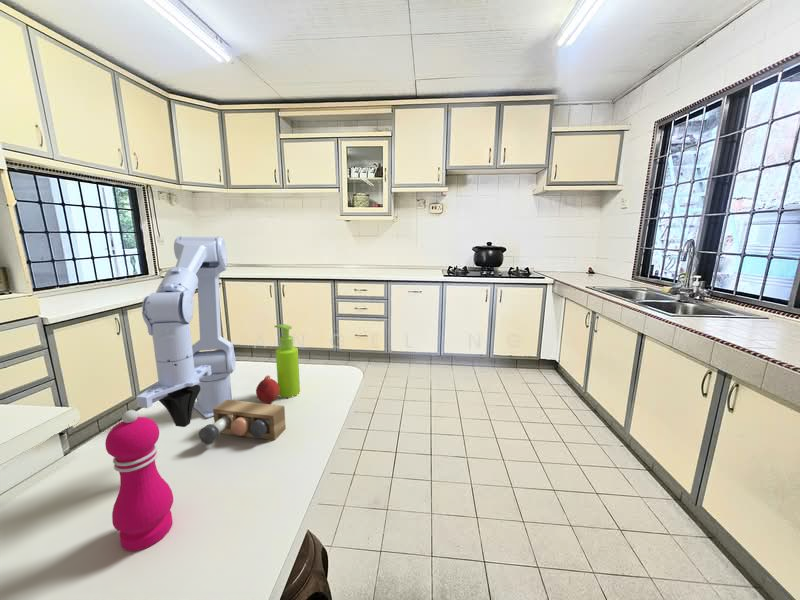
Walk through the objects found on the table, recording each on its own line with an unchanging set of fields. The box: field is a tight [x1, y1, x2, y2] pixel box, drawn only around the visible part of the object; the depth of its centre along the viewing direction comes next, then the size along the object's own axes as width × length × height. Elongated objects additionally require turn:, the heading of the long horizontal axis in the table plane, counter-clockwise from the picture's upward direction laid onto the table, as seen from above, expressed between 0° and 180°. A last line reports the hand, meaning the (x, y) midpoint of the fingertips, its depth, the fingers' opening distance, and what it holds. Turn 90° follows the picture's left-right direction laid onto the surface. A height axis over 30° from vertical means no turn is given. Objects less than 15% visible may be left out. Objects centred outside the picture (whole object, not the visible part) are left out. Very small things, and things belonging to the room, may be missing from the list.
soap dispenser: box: [274, 323, 301, 398], centre depth 94 cm, size 6×7×20 cm
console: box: [213, 399, 287, 441], centre depth 77 cm, size 15×4×6 cm, turn 79°
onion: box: [255, 374, 280, 404], centre depth 89 cm, size 6×6×8 cm
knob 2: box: [249, 418, 270, 439], centre depth 75 cm, size 4×6×4 cm, turn 169°
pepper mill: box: [104, 409, 174, 552], centre depth 49 cm, size 7×7×20 cm
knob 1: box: [198, 416, 231, 445], centre depth 73 cm, size 4×6×4 cm, turn 169°
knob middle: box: [231, 416, 251, 437], centre depth 76 cm, size 4×6×4 cm, turn 169°
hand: (182, 424), depth 64 cm, fingers closed
